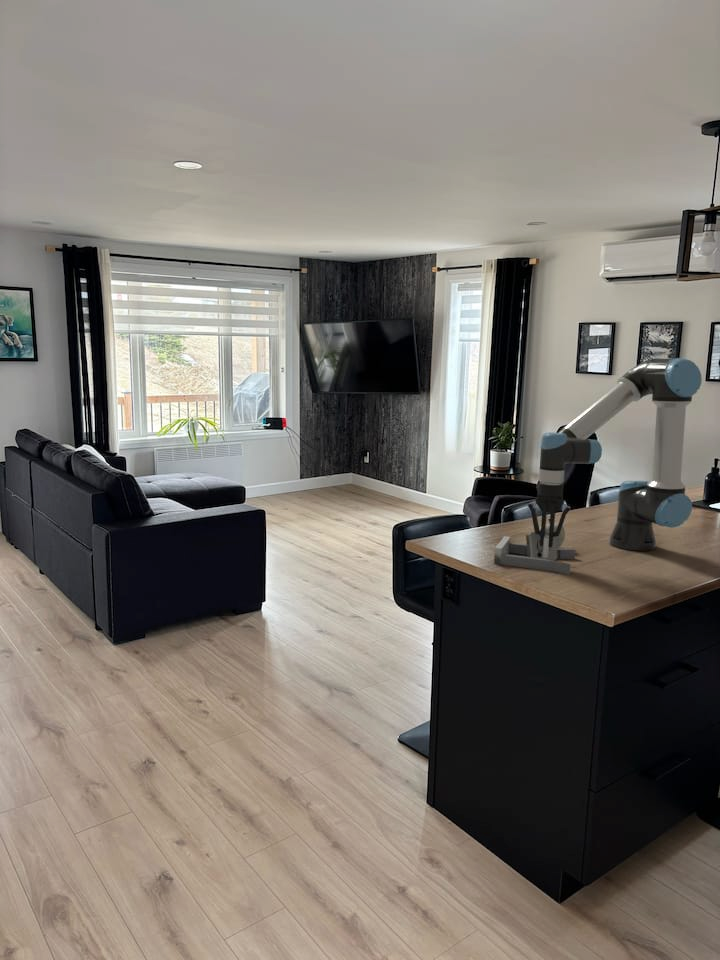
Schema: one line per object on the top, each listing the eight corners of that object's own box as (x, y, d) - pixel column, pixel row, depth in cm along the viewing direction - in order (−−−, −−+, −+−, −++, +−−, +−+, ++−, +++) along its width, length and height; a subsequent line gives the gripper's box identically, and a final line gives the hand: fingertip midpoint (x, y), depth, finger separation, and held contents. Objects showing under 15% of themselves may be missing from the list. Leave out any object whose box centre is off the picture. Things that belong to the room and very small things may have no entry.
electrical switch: (532, 562, 222) (532, 533, 222) (523, 559, 227) (523, 530, 227) (557, 560, 225) (558, 531, 225) (547, 557, 230) (548, 529, 230)
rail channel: (575, 557, 229) (576, 542, 228) (569, 575, 210) (570, 558, 209) (504, 549, 237) (505, 534, 237) (492, 565, 218) (493, 549, 217)
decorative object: (562, 552, 236) (565, 523, 234) (536, 549, 238) (538, 520, 237) (564, 546, 244) (567, 518, 242) (538, 543, 247) (541, 515, 245)
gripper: (573, 483, 219) (567, 556, 223) (531, 479, 224) (526, 551, 228) (571, 486, 212) (565, 562, 216) (527, 482, 217) (522, 557, 221)
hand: (545, 556), depth 222 cm, fingers closed
